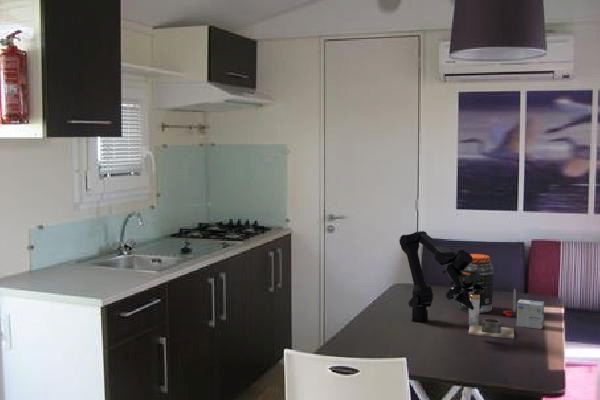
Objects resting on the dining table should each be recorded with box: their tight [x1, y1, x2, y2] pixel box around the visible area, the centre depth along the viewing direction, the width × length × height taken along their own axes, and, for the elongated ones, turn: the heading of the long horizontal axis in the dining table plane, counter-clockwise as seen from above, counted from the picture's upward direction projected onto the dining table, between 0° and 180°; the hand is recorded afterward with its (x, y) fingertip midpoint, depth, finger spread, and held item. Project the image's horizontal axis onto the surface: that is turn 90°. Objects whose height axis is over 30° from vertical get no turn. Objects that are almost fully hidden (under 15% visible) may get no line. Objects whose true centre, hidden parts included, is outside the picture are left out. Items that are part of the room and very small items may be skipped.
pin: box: [468, 294, 480, 326], centre depth 281 cm, size 4×4×12 cm
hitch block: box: [468, 317, 515, 339], centre depth 291 cm, size 18×12×5 cm, turn 74°
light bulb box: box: [516, 299, 545, 330], centre depth 302 cm, size 11×7×11 cm, turn 65°
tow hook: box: [502, 288, 517, 318], centre depth 321 cm, size 8×13×9 cm
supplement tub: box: [457, 253, 494, 314], centre depth 329 cm, size 16×16×26 cm
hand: (476, 308), depth 280 cm, fingers closed on pin, 4 cm apart
